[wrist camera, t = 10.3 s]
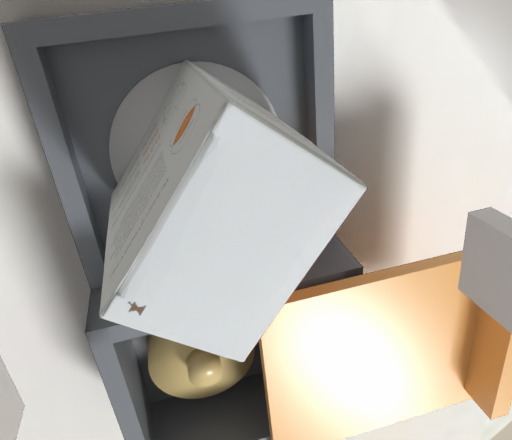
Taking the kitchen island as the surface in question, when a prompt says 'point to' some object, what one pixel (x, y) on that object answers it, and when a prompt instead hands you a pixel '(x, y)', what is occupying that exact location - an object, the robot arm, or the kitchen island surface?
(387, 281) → the lid
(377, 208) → the kitchen island surface
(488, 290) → the robot arm
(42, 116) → the housing
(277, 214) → the small box
